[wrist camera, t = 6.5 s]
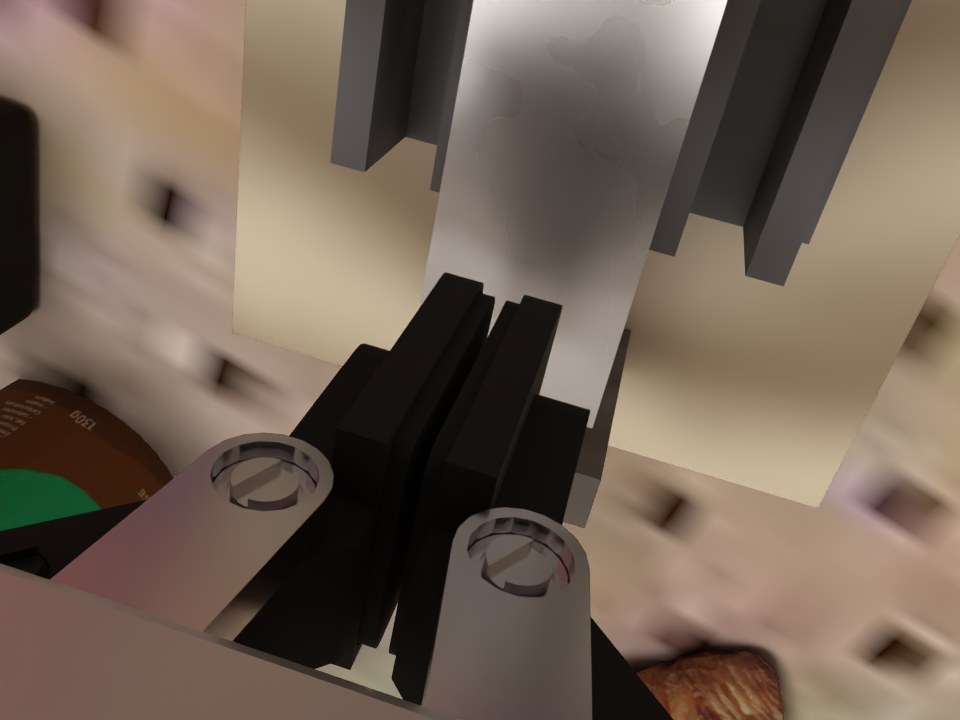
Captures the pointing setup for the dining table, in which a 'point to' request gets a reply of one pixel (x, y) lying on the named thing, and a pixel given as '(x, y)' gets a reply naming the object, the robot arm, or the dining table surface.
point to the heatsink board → (679, 231)
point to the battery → (15, 216)
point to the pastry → (716, 687)
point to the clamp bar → (568, 162)
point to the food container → (67, 457)
